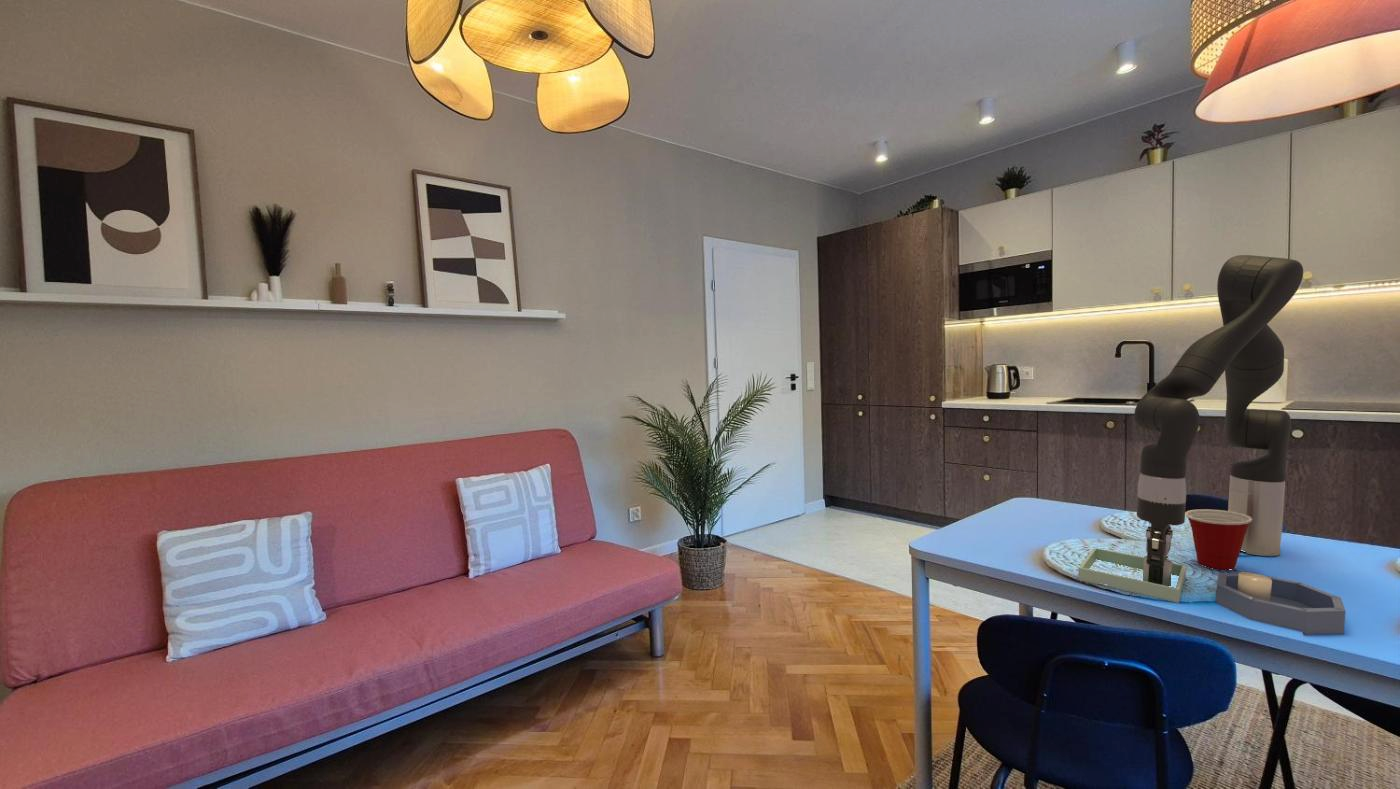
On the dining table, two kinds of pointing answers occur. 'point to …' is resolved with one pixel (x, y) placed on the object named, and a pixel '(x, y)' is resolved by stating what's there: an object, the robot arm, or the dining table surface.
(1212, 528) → the plastic cup
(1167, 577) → the beige rounded piece
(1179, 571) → the tray
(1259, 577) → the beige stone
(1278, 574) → the dining table surface
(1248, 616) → the bowl
